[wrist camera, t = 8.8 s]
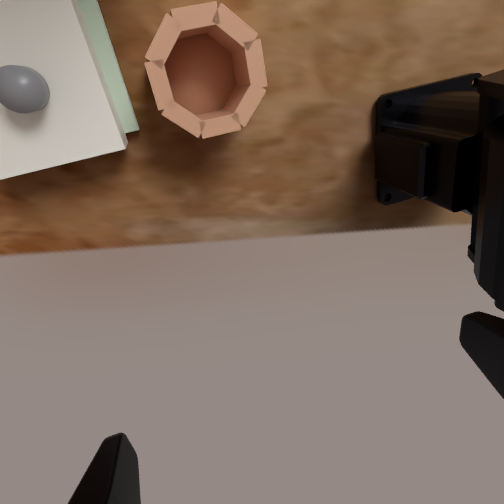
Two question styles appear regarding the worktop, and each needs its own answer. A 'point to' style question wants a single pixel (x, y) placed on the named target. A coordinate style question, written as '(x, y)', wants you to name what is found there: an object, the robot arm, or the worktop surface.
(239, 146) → the worktop surface
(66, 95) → the cover
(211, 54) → the bowl
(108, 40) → the mat
